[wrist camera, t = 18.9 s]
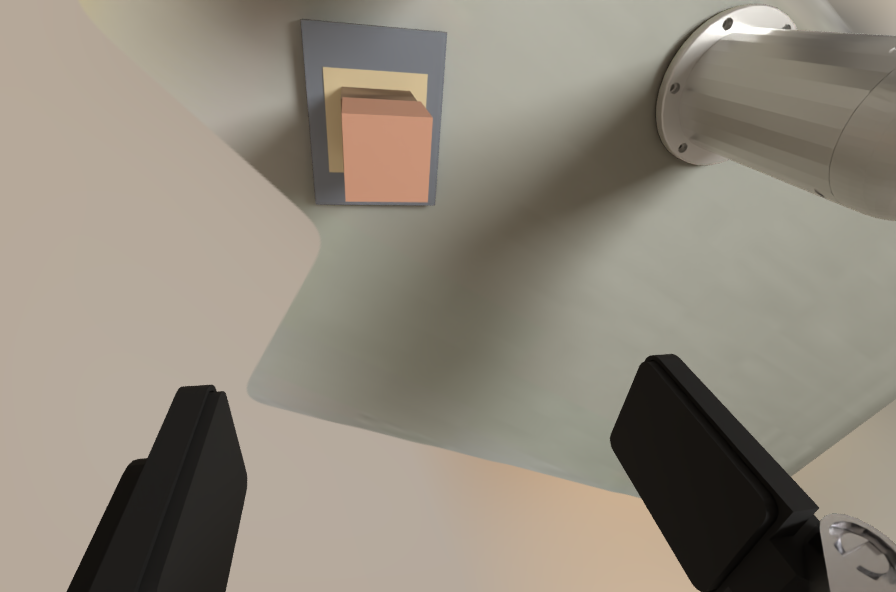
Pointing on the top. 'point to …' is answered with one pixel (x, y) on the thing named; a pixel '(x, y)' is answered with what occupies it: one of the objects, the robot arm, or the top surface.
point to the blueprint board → (366, 66)
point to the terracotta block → (386, 150)
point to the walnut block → (375, 95)
